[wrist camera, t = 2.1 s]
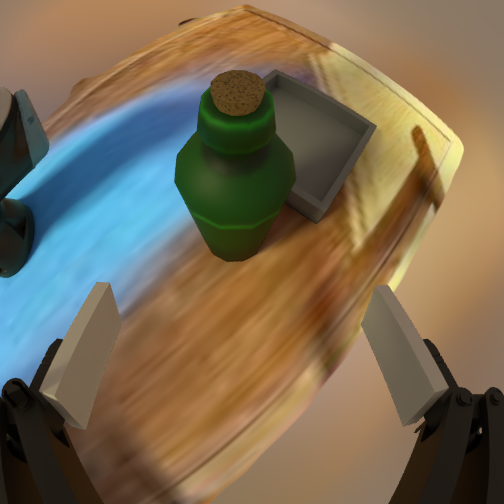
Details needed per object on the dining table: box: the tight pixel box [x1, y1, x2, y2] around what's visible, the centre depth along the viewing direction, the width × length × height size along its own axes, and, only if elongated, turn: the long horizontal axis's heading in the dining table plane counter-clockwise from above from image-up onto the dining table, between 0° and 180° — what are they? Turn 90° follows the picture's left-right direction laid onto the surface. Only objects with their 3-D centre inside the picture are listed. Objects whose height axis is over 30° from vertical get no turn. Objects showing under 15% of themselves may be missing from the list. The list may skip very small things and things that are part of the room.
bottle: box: [174, 70, 297, 262], centre depth 28 cm, size 11×11×28 cm
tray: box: [262, 69, 377, 224], centre depth 44 cm, size 22×22×4 cm
